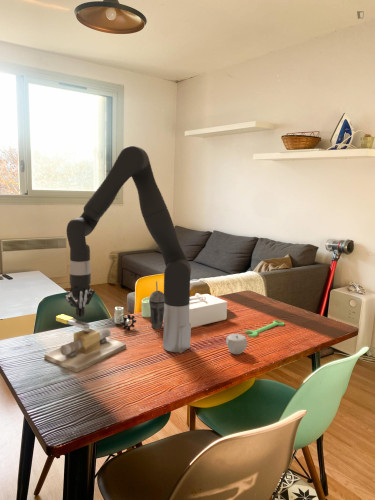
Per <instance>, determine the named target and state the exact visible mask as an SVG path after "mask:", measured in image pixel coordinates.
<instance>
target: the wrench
mask: <svg viewBox="0 0 375 500" xmlns="http://www.w3.org/2000/svg"><path fill="white" fill-rule="evenodd" d="M276 326H281V327H282V326H283V327H284V326H285V322H283V321H281V320H273V321H272V323H270V324H268V325H265V326H263V327H260V328H258V329H256V330H251V329H249V330H248V329H247V330H245V331H244V333H245V334H248V335H247V337H250V338H256V337H258V334H260V333H262V332H264V331H267V330H269V329H272V328H274V327H276Z"/></svg>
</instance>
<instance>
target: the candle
mask: <svg viewBox="0 0 375 500" xmlns="http://www.w3.org/2000/svg"><path fill="white" fill-rule="evenodd" d="M149 298H150V296H147V297H143V299H141V317H142V318H151V313H150V304H149Z"/></svg>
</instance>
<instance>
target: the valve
mask: <svg viewBox="0 0 375 500" xmlns="http://www.w3.org/2000/svg"><path fill="white" fill-rule="evenodd" d="M124 309H125V308H124V307H122V306H115V307H114V314H113V318H114V321H113V323H114V324H116V325H121V326H122V329H123V330H128V331H130V330H131V327H132V328H135V325H134V324H135V323H137V320H136V319H135V318H136V317H135V315H131V314H126V315H125V313H124Z"/></svg>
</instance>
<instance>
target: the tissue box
mask: <svg viewBox="0 0 375 500" xmlns="http://www.w3.org/2000/svg"><path fill="white" fill-rule="evenodd" d="M227 313H228V301H227V300H224V299H221V298H219V297H217V296H214V295H212V294H208V293H204V294H201V293H198V292H197V293H195V294H194V295H192V296H190V305H189V323H191V329H193V328H195V327H200V326H203V325H207V324H211V323H215V322H217V323H218V322H221V321H225V320H227V318H228V317H227ZM163 321H164V317H163Z"/></svg>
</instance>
